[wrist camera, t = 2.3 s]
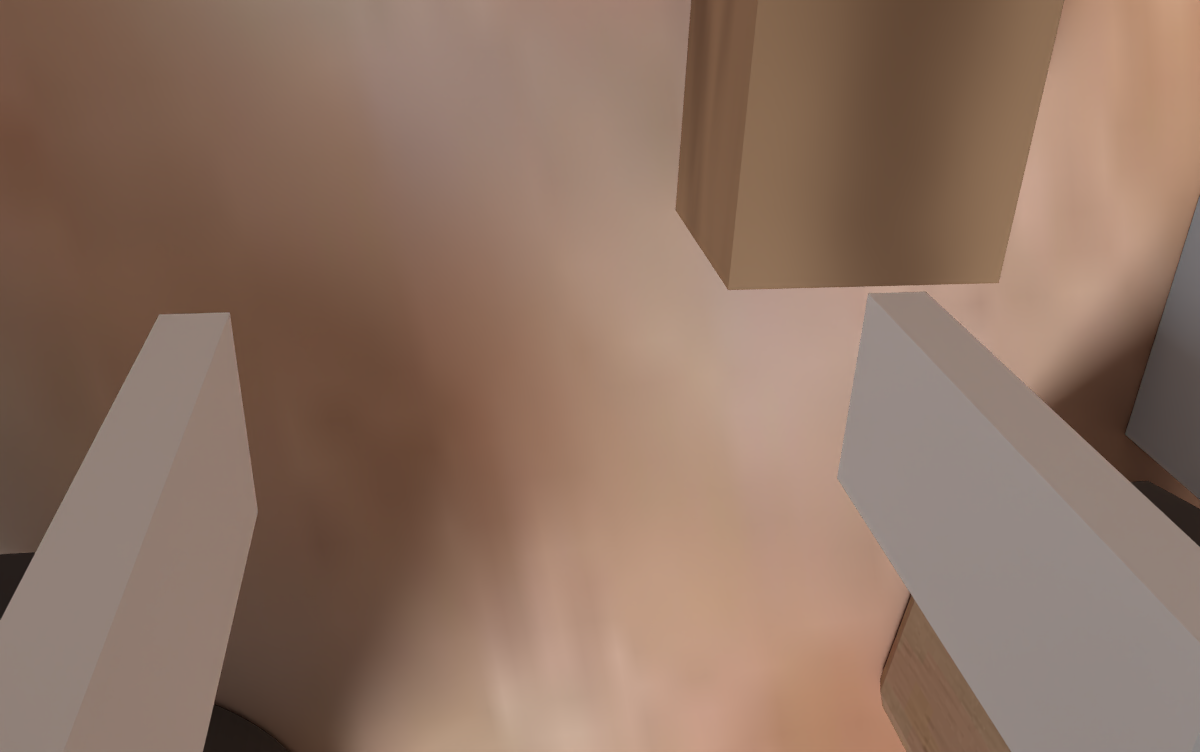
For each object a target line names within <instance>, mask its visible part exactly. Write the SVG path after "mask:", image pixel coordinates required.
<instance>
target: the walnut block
mask: <svg viewBox="0 0 1200 752" xmlns="http://www.w3.org/2000/svg"><path fill="white" fill-rule="evenodd" d="M1063 3H1064V0H691V12H690V25H689V38H688V52H687V65H686V78H685V92H684V105H683V118H682V132H681V145H680V158H679V172H678V185H677V198H676V211H677V213H678V214H679V216H680V217H681V219H682V220H683V222H684V224H685V225H686V227H687V228H688V230H689V231H690V233H691V234H692V236H693V237H694V239H695V240H696V242H697V243H698V245H699V246H700V248H701V249H702V251H703V252H704V254H705V255H706V257H707V258H708V260H709V261H710V263H711V265H712V266H713V268H714V269H715V271H716V272H717V274H718V275H719V277H720V278H721V280H722V281H723V283H724V284H725V286H726V287H727V289H728V290H743V289H782V288H821V287H860V286H899V285H938V284H977V283H999V279H1000V274H1001V270H1002V266H1003V261H1004V257H1005V253H1006V248H1007V244H1008V240H1009V236H1010V231H1011V227H1012V223H1013V218H1014V214H1015V210H1016V205H1017V201H1018V197H1019V193H1020V188H1021V184H1022V180H1023V175H1024V171H1025V167H1026V162H1027V158H1028V154H1029V150H1030V145H1031V141H1032V137H1033V132H1034V128H1035V124H1036V119H1037V115H1038V111H1039V107H1040V102H1041V98H1042V94H1043V89H1044V85H1045V81H1046V77H1047V72H1048V68H1049V64H1050V59H1051V55H1052V51H1053V46H1054V42H1055V38H1056V34H1057V29H1058V25H1059V21H1060V16H1061V12H1062V8H1063Z"/></svg>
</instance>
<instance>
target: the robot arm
mask: <svg viewBox="0 0 1200 752" xmlns="http://www.w3.org/2000/svg"><path fill="white" fill-rule="evenodd" d="M837 479H838V480H839V482H840V483H841V485H842V486H843V488H844V490H845V491H846V493H847V494H848V496H849V498H850V499H851V501H852V502H853V504H854V505H855V507H856V509H857V510H858V512H859V513H860V515H861V516H862V518H863V520H864V521H865V523H866V524H867V526H868V527H869V529H870V531H871V532H872V534H873V535H874V537H875V538H876V540H877V542H878V543H879V545H880V546H881V548H882V549H883V551H884V553H885V554H886V556H887V557H888V559H889V560H890V562H891V564H892V565H893V567H894V568H895V570H896V571H897V573H898V575H899V576H900V578H901V579H902V581H903V582H904V584H905V586H906V587H907V589H908V590H909V592H910V593H911V595H912V597H913V598H914V600H915V601H916V603H917V604H918V606H919V608H920V609H921V611H922V612H923V614H924V615H925V617H926V619H927V620H928V622H929V623H930V625H931V626H932V628H933V630H934V631H935V633H936V634H937V636H938V637H939V639H940V641H941V642H942V644H943V645H944V647H945V648H946V650H947V652H948V653H949V655H950V656H951V658H952V659H953V661H954V663H955V664H956V666H957V667H958V669H959V670H960V672H961V674H962V675H963V677H964V678H965V680H966V681H967V683H968V685H969V686H970V688H971V689H972V691H973V692H974V694H975V696H976V697H977V699H978V700H979V702H980V703H981V705H982V707H983V708H984V710H985V711H986V713H987V714H988V716H989V718H990V719H991V721H992V722H993V724H994V725H995V727H996V729H997V730H998V732H999V733H1000V735H1001V736H1002V738H1003V740H1004V741H1005V743H1006V744H1007V746H1008V747H1009V749H1010V751H1011V752H1200V509H1199V508H1197V507H1195V506H1193V505H1191V504H1189V503H1188V502H1186V501H1184V500H1182V499H1180V498H1178V497H1177V496H1175V495H1173V494H1171V493H1169V492H1167V491H1166V490H1164V489H1162V488H1160V487H1158V486H1156V485H1155V484H1153V483H1151V482H1149V481H1138V482H1129V481H1128V480H1127V479H1126V478H1125V477H1124V476H1123V475H1122V474H1121V473H1120V472H1119V471H1118V470H1117V469H1115V468H1114V467H1113V466H1112V465H1111V464H1110V463H1109V462H1108V461H1107V460H1106V459H1105V458H1104V457H1103V456H1102V455H1100V454H1099V453H1098V452H1097V451H1096V450H1095V449H1094V448H1093V447H1092V446H1091V445H1090V444H1089V443H1088V442H1087V441H1085V440H1084V439H1083V438H1082V437H1081V436H1080V435H1079V434H1078V433H1077V432H1076V431H1075V430H1074V429H1073V428H1071V427H1070V426H1069V425H1068V424H1067V423H1066V422H1065V421H1064V420H1063V419H1062V418H1061V417H1060V416H1059V415H1058V414H1056V413H1055V412H1054V411H1053V410H1052V409H1051V408H1050V407H1049V406H1048V405H1047V404H1046V403H1045V402H1044V401H1043V400H1041V399H1040V398H1039V397H1038V396H1037V395H1036V394H1035V393H1034V392H1033V391H1032V390H1031V389H1030V388H1029V387H1027V386H1026V385H1025V384H1024V383H1023V382H1022V381H1021V380H1020V379H1019V378H1018V377H1017V376H1016V375H1015V374H1014V373H1012V372H1011V371H1010V370H1009V369H1008V368H1007V367H1006V366H1005V365H1004V364H1003V363H1002V362H1001V361H1000V360H999V359H997V358H996V357H995V356H994V355H993V354H992V353H991V352H990V351H989V350H988V349H987V348H986V347H985V346H983V345H982V344H981V343H980V342H979V341H978V340H977V339H976V338H975V337H974V336H973V335H972V334H971V333H970V332H968V331H967V330H966V329H965V328H964V327H963V326H962V325H961V324H960V323H959V322H958V321H957V320H956V319H955V318H953V317H952V316H951V315H950V314H949V313H948V312H947V311H946V310H945V309H944V308H943V307H942V306H941V305H939V304H938V303H937V302H936V301H935V300H934V299H933V298H932V297H931V296H930V295H929V294H928V293H927V292H899V293H868V298H867V304H866V310H865V316H864V322H863V328H862V333H861V339H860V345H859V351H858V357H857V363H856V369H855V375H854V381H853V387H852V393H851V399H850V405H849V411H848V417H847V423H846V428H845V434H844V440H843V446H842V452H841V458H840V464H839V470H838V476H837ZM257 514H258V508H257V501H256V494H255V487H254V479H253V472H252V465H251V458H250V451H249V444H248V437H247V430H246V423H245V416H244V409H243V402H242V395H241V388H240V381H239V374H238V367H237V360H236V353H235V346H234V338H233V331H232V324H231V317H230V312H224V313H190V314H159V316H158V318H157V320H156V322H155V324H154V325H153V327H152V329H151V331H150V333H149V335H148V337H147V339H146V341H145V343H144V345H143V347H142V349H141V350H140V352H139V354H138V356H137V358H136V360H135V362H134V364H133V366H132V368H131V370H130V372H129V374H128V375H127V377H126V379H125V381H124V383H123V385H122V387H121V389H120V391H119V393H118V395H117V397H116V399H115V401H114V402H113V404H112V406H111V408H110V410H109V412H108V414H107V416H106V418H105V420H104V422H103V424H102V426H101V427H100V429H99V431H98V433H97V435H96V437H95V439H94V441H93V443H92V445H91V447H90V449H89V451H88V452H87V454H86V456H85V458H84V460H83V462H82V464H81V466H80V468H79V470H78V472H77V474H76V476H75V478H74V479H73V481H72V483H71V485H70V487H69V489H68V491H67V493H66V495H65V497H64V499H63V501H62V503H61V504H60V506H59V508H58V510H57V512H56V514H55V516H54V518H53V520H52V522H51V524H50V526H49V528H48V529H47V531H46V533H45V535H44V537H43V539H42V541H41V543H40V545H39V547H38V549H37V551H36V552H34V553H18V554H2V555H0V752H288V751H287V750H286V749H285V748H284V747H283V746H282V745H281V744H280V743H279V742H278V741H276V740H275V739H274V738H273V737H271V736H270V735H269V734H267V733H266V732H265V731H263V730H262V729H260V728H259V727H257V726H255V725H254V724H252V723H251V722H249V721H247V720H245V719H244V718H242V717H240V716H238V715H236V714H234V713H232V712H230V711H228V710H225V709H223V708H221V707H218V706H216V705H214V701H215V697H216V692H217V688H218V684H219V679H220V675H221V671H222V666H223V662H224V658H225V653H226V649H227V644H228V640H229V636H230V631H231V627H232V623H233V618H234V614H235V610H236V605H237V601H238V596H239V592H240V588H241V583H242V579H243V575H244V570H245V566H246V562H247V557H248V553H249V549H250V544H251V540H252V535H253V531H254V527H255V522H256V518H257Z"/></svg>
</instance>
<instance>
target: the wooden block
mask: <svg viewBox="0 0 1200 752" xmlns="http://www.w3.org/2000/svg"><path fill="white" fill-rule="evenodd" d="M880 692H881V699H882V706H883V708H884V710H885V712H886V714H887V715H888V717H889V719H890V721H891V723H892V725H893V727H894V729H895V731H896V733H897V734H898V736H899V738H900V740H901V742H902V744H903V746H904V748H905V750H906V752H1011V751H1010V749H1009V747H1008V746H1007V744H1006V743H1005V741H1004V740H1003V738H1002V736H1001V735H1000V733H999V732H998V730H997V729H996V727H995V725H994V724H993V722H992V721H991V719H990V718H989V716H988V714H987V713H986V711H985V710H984V708H983V707H982V705H981V703H980V702H979V700H978V699H977V697H976V696H975V694H974V692H973V691H972V689H971V688H970V686H969V685H968V683H967V681H966V680H965V678H964V677H963V675H962V674H961V672H960V670H959V669H958V667H957V666H956V664H955V663H954V661H953V659H952V658H951V656H950V655H949V653H948V652H947V650H946V648H945V647H944V645H943V644H942V642H941V641H940V639H939V637H938V636H937V634H936V633H935V631H934V630H933V628H932V626H931V625H930V623H929V622H928V620H927V619H926V617H925V615H924V614H923V612H922V611H921V609H920V608H919V606H918V604H917V603H916V601H915V600H914V598H913V597H912V595H911V598H910V600H909V603H908V606H907V608H906V611H905V614H904V616H903V619H902V622H901V624H900V627H899V630H898V632H897V635H896V638H895V640H894V643H893V646H892V648H891V651H890V654H889V657H888V659H887V662H886V665H885V667H884V670H883V673H882V675H881V678H880Z"/></svg>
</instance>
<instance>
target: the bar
mask: <svg viewBox="0 0 1200 752" xmlns="http://www.w3.org/2000/svg"><path fill="white" fill-rule="evenodd" d="M1125 435H1126V436H1127V437H1128V438H1130V439H1131V440H1132V441H1133V442H1134V443H1135V444H1136V445H1138V446H1139V447H1140V448H1141V449H1142V450H1143V451H1144V452H1146V453H1147V454H1148V455H1149V456H1150V457H1151V458H1153V459H1154V460H1155V461H1156V462H1157V463H1158V464H1159V465H1161V466H1162V467H1163V468H1164V469H1165V470H1166V471H1167V472H1169V473H1170V474H1171V475H1172V476H1173V477H1174V478H1175V479H1177V480H1178V481H1179V482H1180V483H1181V484H1182V485H1183V486H1185V487H1186V488H1187V489H1188V490H1189V491H1190V492H1192V493H1193V494H1194V495H1195V496H1196V497H1197V498H1198V499H1200V197H1199V200H1198V203H1197V206H1196V209H1195V213H1194V216H1193V219H1192V222H1191V225H1190V229H1189V232H1188V235H1187V238H1186V241H1185V245H1184V248H1183V251H1182V254H1181V257H1180V260H1179V264H1178V267H1177V270H1176V273H1175V276H1174V280H1173V283H1172V286H1171V289H1170V292H1169V296H1168V299H1167V302H1166V305H1165V308H1164V312H1163V315H1162V318H1161V321H1160V324H1159V328H1158V331H1157V334H1156V337H1155V340H1154V343H1153V347H1152V350H1151V353H1150V356H1149V359H1148V363H1147V366H1146V369H1145V372H1144V375H1143V379H1142V382H1141V385H1140V388H1139V391H1138V395H1137V398H1136V401H1135V404H1134V407H1133V410H1132V414H1131V417H1130V420H1129V423H1128V426H1127V430H1126V433H1125Z"/></svg>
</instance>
